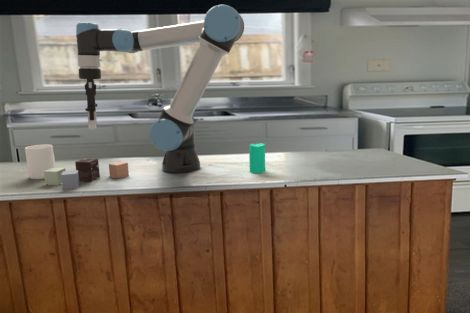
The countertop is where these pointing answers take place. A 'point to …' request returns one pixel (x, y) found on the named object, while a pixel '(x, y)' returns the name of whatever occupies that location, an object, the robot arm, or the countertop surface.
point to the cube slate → (70, 179)
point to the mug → (39, 160)
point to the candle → (257, 158)
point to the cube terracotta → (118, 169)
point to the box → (88, 169)
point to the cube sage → (53, 176)
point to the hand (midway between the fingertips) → (92, 126)
